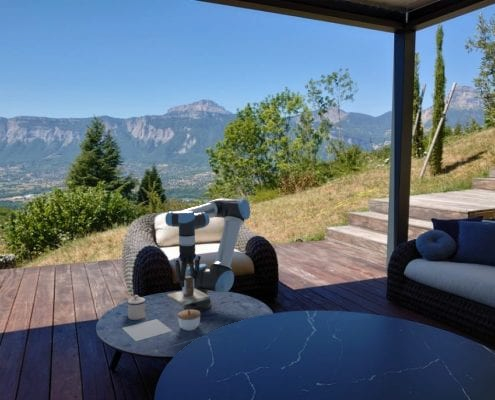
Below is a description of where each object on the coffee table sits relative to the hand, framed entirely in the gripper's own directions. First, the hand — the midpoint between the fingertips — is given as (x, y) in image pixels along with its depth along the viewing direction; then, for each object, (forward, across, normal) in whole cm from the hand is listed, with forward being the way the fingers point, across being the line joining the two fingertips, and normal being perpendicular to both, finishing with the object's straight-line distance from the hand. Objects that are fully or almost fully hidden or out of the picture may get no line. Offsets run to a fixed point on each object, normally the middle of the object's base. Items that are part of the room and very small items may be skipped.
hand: (188, 292), depth 195 cm
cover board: (+3, 0, 0) cm, 3 cm away
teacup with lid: (+18, +15, -31) cm, 39 cm away
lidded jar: (+18, 0, 0) cm, 18 cm away
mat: (+18, +17, -11) cm, 27 cm away
